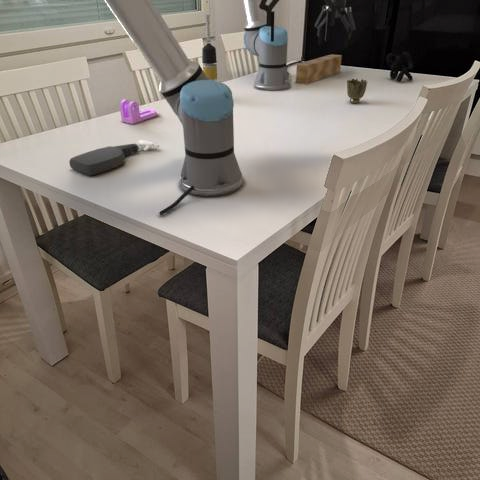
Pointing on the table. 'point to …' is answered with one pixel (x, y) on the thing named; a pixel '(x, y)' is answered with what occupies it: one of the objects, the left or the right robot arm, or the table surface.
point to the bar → (318, 68)
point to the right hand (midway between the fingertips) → (332, 45)
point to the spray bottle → (106, 157)
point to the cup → (356, 89)
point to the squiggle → (399, 66)
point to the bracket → (134, 112)
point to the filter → (209, 56)
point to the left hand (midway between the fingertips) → (299, 40)
